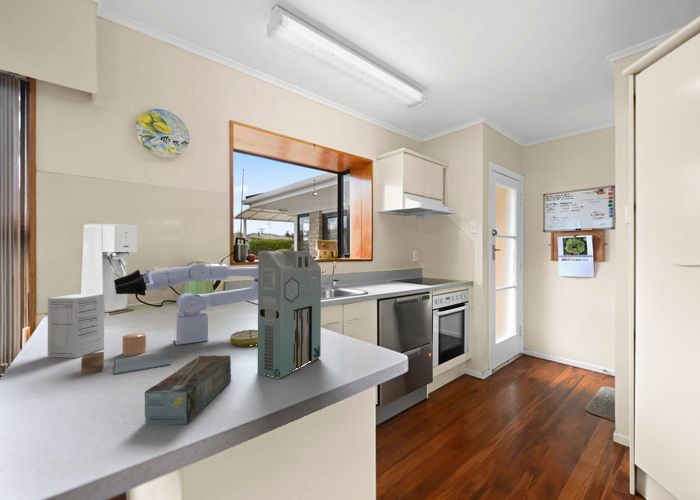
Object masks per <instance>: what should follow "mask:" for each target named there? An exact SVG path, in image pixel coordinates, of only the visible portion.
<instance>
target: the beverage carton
mask: <svg viewBox="0 0 700 500" xmlns="http://www.w3.org/2000/svg"><path fill="white" fill-rule="evenodd" d="M231 361H232V360H231V355H199V356H197V357H196V358H194V359H192V361H189V362H188V363H187V364H185V365H183V366H182V367H181V368H180V369H178V370H177V371H175V372H173V373H172V374H171V375H168V376H167V377H166V378H164V379H163V380H161V381H160V382H158V383H156V384H155V385H153V386H151V387H149V388H148V389H147V390H145V392H144V418H145V424H146V425H184V426H185V425H188V424H189V423H190V422H191V420H193V419H194V417H196V416H197V415H198V414H199V413H200V412H201V411H202V410H203V409H204V408H205V407H206V406H207V405H209V403H211V401H212V400H213V399H214V398H215V397H216V396H217V395H218V394H219V393H220V392H221V391H222V390H223V389H224V388H225V387H226V386H228V384H229V383H230V382H231V381H232V374H231V373H232V369H231V365H232V362H231Z"/></svg>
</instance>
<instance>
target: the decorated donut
mask: <svg viewBox="0 0 700 500" xmlns="http://www.w3.org/2000/svg"><path fill="white" fill-rule="evenodd" d="M229 340H230V343H231V344H232V345H233V346H237V347H242V346H244V347H251V346H250V345H255V346H257V345H256V344H258V329H247V330H246V329H245V330H240V331H235V332H234V333H232V334H231V335H230V337H229Z"/></svg>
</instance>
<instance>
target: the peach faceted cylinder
mask: <svg viewBox="0 0 700 500" xmlns="http://www.w3.org/2000/svg"><path fill="white" fill-rule="evenodd" d="M146 336H147V335H146V333H143V332H136V333H128V334H126V335H123V336H122V356H138V355H142V354H143V353H146V350H147V349H146V347H147V341H146V340H147V339H146V338H147V337H146Z"/></svg>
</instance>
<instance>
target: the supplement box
mask: <svg viewBox="0 0 700 500" xmlns="http://www.w3.org/2000/svg"><path fill="white" fill-rule="evenodd" d="M104 349H105V294H104V293H75V294H69V295H68V294H67V295H60V296H53V297H52V296H51V297H47V358H70V359H76V358H79V357H80V358H81V357H83V355H84V354H91V353H96V352H99V351H100V350H104Z"/></svg>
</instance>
